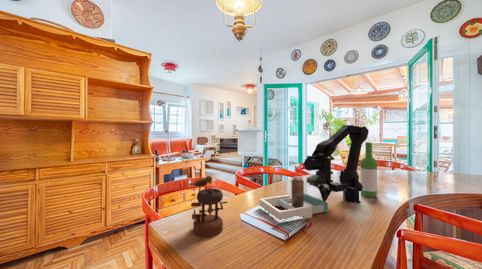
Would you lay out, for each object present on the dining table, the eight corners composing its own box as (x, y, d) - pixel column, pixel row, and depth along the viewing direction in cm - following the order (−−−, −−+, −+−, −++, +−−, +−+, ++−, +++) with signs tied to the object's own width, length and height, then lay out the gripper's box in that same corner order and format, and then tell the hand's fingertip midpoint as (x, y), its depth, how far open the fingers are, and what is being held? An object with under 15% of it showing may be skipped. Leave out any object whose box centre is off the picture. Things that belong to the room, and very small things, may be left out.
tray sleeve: (288, 203, 97) (288, 194, 97) (312, 217, 81) (312, 206, 81) (259, 208, 91) (259, 198, 91) (279, 223, 75) (279, 212, 75)
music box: (195, 243, 62) (193, 179, 63) (185, 231, 71) (183, 176, 72) (236, 230, 70) (233, 174, 71) (222, 221, 79) (220, 171, 81)
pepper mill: (305, 206, 89) (305, 177, 89) (301, 210, 85) (301, 179, 85) (294, 204, 92) (294, 175, 92) (289, 207, 88) (289, 177, 88)
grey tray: (304, 200, 99) (304, 193, 99) (327, 212, 85) (328, 202, 85) (277, 205, 93) (277, 196, 93) (298, 217, 79) (298, 208, 79)
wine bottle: (380, 196, 107) (380, 142, 107) (370, 198, 104) (371, 142, 104) (366, 192, 115) (366, 142, 114) (357, 194, 112) (357, 142, 112)
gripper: (298, 167, 100) (298, 197, 100) (327, 174, 83) (326, 210, 83) (315, 165, 104) (315, 194, 104) (345, 172, 87) (345, 207, 87)
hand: (324, 201), depth 95 cm, fingers closed
